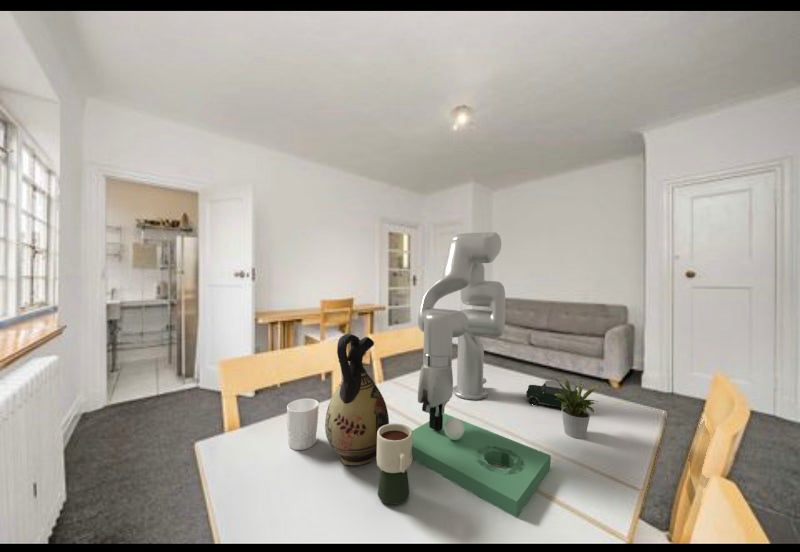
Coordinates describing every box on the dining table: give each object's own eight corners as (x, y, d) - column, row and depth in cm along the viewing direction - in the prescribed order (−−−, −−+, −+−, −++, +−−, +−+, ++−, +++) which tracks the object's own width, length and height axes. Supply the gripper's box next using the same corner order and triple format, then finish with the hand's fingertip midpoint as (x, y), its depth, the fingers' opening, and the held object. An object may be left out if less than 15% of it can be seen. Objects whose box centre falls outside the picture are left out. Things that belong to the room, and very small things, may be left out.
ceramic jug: (350, 431, 85) (352, 324, 85) (398, 447, 78) (401, 330, 77) (305, 465, 70) (307, 335, 69) (360, 488, 63) (363, 344, 62)
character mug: (420, 512, 57) (422, 443, 57) (384, 522, 54) (385, 450, 54) (400, 475, 67) (402, 416, 67) (369, 482, 65) (370, 421, 64)
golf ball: (450, 431, 80) (451, 412, 80) (467, 438, 77) (468, 419, 77) (440, 438, 77) (440, 419, 77) (457, 446, 73) (457, 426, 73)
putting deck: (397, 450, 76) (398, 438, 76) (443, 422, 91) (443, 413, 91) (516, 517, 56) (516, 501, 56) (550, 468, 71) (550, 455, 71)
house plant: (535, 432, 87) (536, 375, 86) (550, 416, 97) (551, 365, 97) (593, 453, 77) (595, 389, 77) (603, 433, 87) (605, 376, 87)
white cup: (309, 431, 84) (309, 396, 84) (323, 443, 79) (324, 405, 79) (281, 442, 79) (281, 404, 79) (294, 455, 73) (295, 414, 73)
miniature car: (527, 395, 114) (527, 374, 114) (583, 406, 105) (583, 383, 105) (524, 404, 106) (524, 381, 106) (584, 417, 97) (585, 392, 97)
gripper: (442, 352, 88) (440, 414, 89) (408, 362, 78) (406, 433, 78) (464, 357, 83) (463, 423, 83) (431, 369, 72) (429, 445, 73)
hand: (435, 428), depth 81 cm, fingers closed
